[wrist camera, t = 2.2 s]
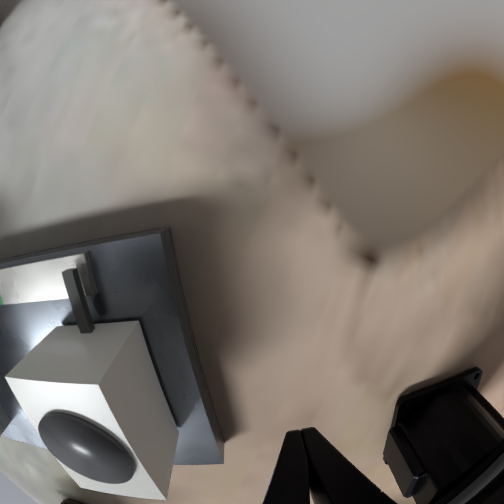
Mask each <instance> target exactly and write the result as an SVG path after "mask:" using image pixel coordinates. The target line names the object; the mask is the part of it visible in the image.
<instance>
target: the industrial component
mask: <svg viewBox="0 0 504 504" xmlns="http://www.w3.org/2000/svg"><path fill="white" fill-rule="evenodd" d="M63 500H64V499H63ZM61 504H81V503H78V502H76V501H72V500H64V502H63V503H61Z"/></svg>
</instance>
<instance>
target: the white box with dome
mask: <svg viewBox="0 0 504 504" xmlns="http://www.w3.org/2000/svg"><path fill="white" fill-rule="evenodd" d="M61 273H62V276H63V280H64V284H65V287H66V290H67V294H68V297H69V300H70V304H71V307H72V310H73V313H74V316H75V319H76V322H77V325H71V326H57V327H55V328H54V329H53V330H52V331H51V332H50V333H49V334H48V335H47V336H46V337H45V338H44V339H43V340H42V341H41V342H39V343H38V344H37V345H36V346H35V347H34V348H33V349H32V350H31V351H30V352H29V353H28V354H27V355H26V356H25V357H24V358H23V359H22V360H21V361H20V362H19V363H18V364H17V365H16V366H15V367H14V368H13V369H12V370H11V371H10V372H9V373H8V374H7V375H6V376H5V378H6V380H7V382H8V384H9V386H10V388H11V390H12V391H13V393H14V395H15V397H16V399H17V400H18V402H19V404H20V406H21V407H22V409H23V411H24V412H25V414H26V415H27V417H28V419H29V420H30V422H31V423H32V425H33V426H34V428H35V429H36V431H37V432H38V434H39V435H40V437H41V439H42V441H43V443H44V444H45V446H46V447H47V448H48V450H49V451H50V452H51V453H52V454H53V455H54V456H55V457H56V459H57V460H58V461H59V463H60V464H61V465H62V466H63V468H64V469H65V470H66V471H67V472H68V474H69V475H70V476H71V477H72V478H73V480H74V481H75V482H76V483H77V484H78V485H79V486H80V488H85V489H89V490H94V491H99V492H104V493H110V494H116V495H123V496H130V497H138V498H147V499H158V500H167V495H168V489H169V484H170V478H171V473H172V467H173V462H174V457H175V452H176V446H177V441H178V436H179V431H178V428H177V426H176V424H175V421H174V419H173V416H172V414H171V412H170V409H169V407H168V404H167V402H166V399H165V396H164V394H163V391H162V389H161V386H160V383H159V380H158V378H157V375H156V372H155V369H154V366H153V364H152V361H151V358H150V355H149V352H148V349H147V346H146V342H145V339H144V336H143V333H142V330H141V326H140V323H139V321H128V322H115V323H102V324H94V323H93V320H92V317H91V314H90V310H89V307H88V304H87V301H86V297H85V294H84V291H83V287H82V284H81V280H80V276H79V272H78V268H71V269H66V270H65V271H63V272H61Z"/></svg>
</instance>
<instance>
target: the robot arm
mask: <svg viewBox="0 0 504 504" xmlns="http://www.w3.org/2000/svg"><path fill="white" fill-rule="evenodd" d="M481 375H482V370H481V369H480V368H479V367H474V368H472V369H470V370H468V371H466V372H463V373H461V374H459V375H457V376H454V377H452V378H450V379H447V380H445V381H442V382H440V383H437V384H435V385H432V386H430V387H427V388H424V389H422V390H419V391H416V392H413V393H411V394H408V395H405V396H403V397H401V398H400V399H399V400H398V401H397V402H396V406H395V411H394V416H393V420H392V425H391V428H390V430H389V432H388V436H387V440H386V444H385V448H384V452H383V455H384V457H383V460H384V462H385V464H388V465H389V467H390V469H391V471H392V473H393V475H394V478H395V480H396V482H397V484H398V486H399V488H400V490H401V492H402V494H403V496H404V497H406V498H409V497H411V496H413V498H414V500H415V502H416V504H504V418H503V417H502V416H501V415H500V414H499V413H498V411H497V410H496V409H495V408H494V407H493V406H492V405H491V404H490V403H489V402H488V401H487V400H486V399H485V398H484V397H483V396H482V395H481V394H480V393H479V392H478V391H477V387H478V384H479V381H480V378H481ZM380 492H381V490H380V489H379V488H378V487H377V486H376V485H375V484H374V483H372V482H371V481H370V480H369V479H368V478H367V477H366V476H365V475H364V474H362V473H361V472H360V471H359V470H358V469H357V468H356V467H355V466H354V465H353V464H352V463H351V462H350V461H348V460H347V459H346V458H345V457H344V456H343V455H342V454H341V453H340V452H339V451H338V450H337V449H336V448H335V447H334V446H333V445H332V444H331V443H330V442H329V441H328V440H327V439H326V438H325V437H324V436H323V435H322V434H321V433H320V432H319V431H318V430H317V429H316V428H314V427H309V428H304V429H301V431H300V430H292V431H288V432H287V433H286V435H285V438H284V441H283V445H282V448H281V451H280V454H279V457H278V460H277V463H276V466H275V469H274V472H273V475H272V478H271V481H270V484H269V487H268V490H267V492H266V495H265V498H264V501H263V503H262V504H310V493H311V496H312V499H313V502H314V504H397V503H396V502H395V501H393V500H392V499H391V498H390V497H389V496H387V495H386V494H385V493H384V492H381V493H380Z"/></svg>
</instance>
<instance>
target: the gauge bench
mask: <svg viewBox="0 0 504 504" xmlns="http://www.w3.org/2000/svg"><path fill="white" fill-rule="evenodd" d="M71 268H78V272H79V276H80V280H81V284H82V287H83V291H84V294H85V297H86V301H87V304H88V307H89V310H90V314H91V317H92V320H93V323H94V324H102V323H115V322H128V321H139V323H140V326H141V330H142V333H143V336H144V339H145V342H146V346H147V349H148V352H149V355H150V358H151V361H152V364H153V366H154V369H155V372H156V375H157V378H158V380H159V383H160V386H161V389H162V391H163V394H164V396H165V399H166V402H167V404H168V407H169V409H170V412H171V414H172V416H173V419H174V421H175V424H176V426H177V428H178V431H179V436H178V441H177V446H176V452H175V457H174V462H173V465H205V464H224V441H223V438H222V435H221V432H220V429H219V426H218V423H217V420H216V416H215V413H214V410H213V406H212V403H211V400H210V396H209V393H208V389H207V386H206V382H205V379H204V375H203V372H202V368H201V364H200V361H199V357H198V353H197V349H196V345H195V341H194V337H193V333H192V329H191V325H190V321H189V317H188V313H187V308H186V304H185V299H184V295H183V290H182V286H181V281H180V277H179V272H178V267H177V262H176V257H175V252H174V247H173V241H172V236H171V231H170V227H165V228H159V229H153V230H147V231H142V232H136V233H130V234H125V235H119V236H114V237H109V238H103V239H98V240H93V241H88V242H83V243H78V244H73V245H68V246H63V247H58V248H53V249H48V250H44V251H39V252H34V253H30V254H25V255H21V256H16V257H12V258H7V259H3V260H0V436H1V435H2V436H5V437H8V438H11V439H14V440H17V441H21V442H24V443H28V444H31V445H35V446H39V447H42V448H47V447H46V446H45V444H44V443H43V441H42V439H41V437H40V435H39V434H38V432H37V431H36V429H35V428H34V426H33V425H32V423H31V422H30V420H29V419H28V417H27V415H26V414H25V412H24V411H23V409H22V407H21V406H20V404H19V402H18V400H17V399H16V397H15V395H14V393H13V391H12V390H11V388H10V386H9V384H8V382H7V380H6V378H5V376H6V375H7V374H8V373H9V372H10V371H11V370H12V369H13V368H14V367H15V366H16V365H17V364H18V363H19V362H20V361H21V360H22V359H23V358H24V357H25V356H26V355H27V354H28V353H29V352H30V351H31V350H32V349H33V348H34V347H35V346H36V345H37V344H38V343H39V342H41V341H42V340H43V339H44V338H45V337H46V336H47V335H48V334H49V333H50V332H51V331H52V330H53V329H54V328H55V327H57V326H71V325H77V322H76V319H75V316H74V313H73V310H72V307H71V304H70V300H69V297H68V294H67V290H66V287H65V284H64V280H63V276H62V273H61V272H63V271H65V270H66V269H71ZM47 449H48V448H47Z"/></svg>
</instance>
